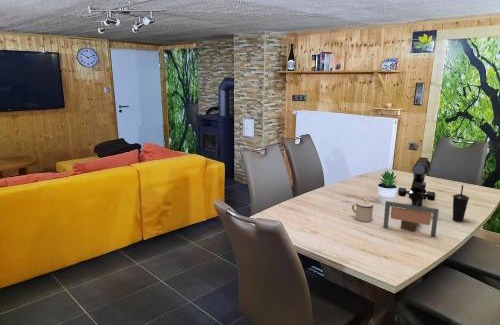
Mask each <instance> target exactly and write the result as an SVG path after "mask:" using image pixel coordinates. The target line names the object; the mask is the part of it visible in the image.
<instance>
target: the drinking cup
mask: <svg viewBox="0 0 500 325" xmlns="http://www.w3.org/2000/svg"><path fill="white" fill-rule="evenodd" d="M460 189H461V190H460V193H456V194H453V195H452V221H453V222H456V223H463V222H464V219H465V214H466V210H467V206H468V202H469V200H470V197H469V196H467V195H466V194H463V192H464V185H463V184H462V185H461V188H460Z"/></svg>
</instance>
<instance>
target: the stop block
mask: <svg viewBox="0 0 500 325" xmlns="http://www.w3.org/2000/svg"><path fill="white" fill-rule="evenodd" d="M409 210H411V209H409ZM415 211H417V210H415ZM400 222H401V223H400V230H406V231H410V232H414V233H416V231H417V229H418V228H419V226H420V223H414V222H409V221H403V220H400Z"/></svg>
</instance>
